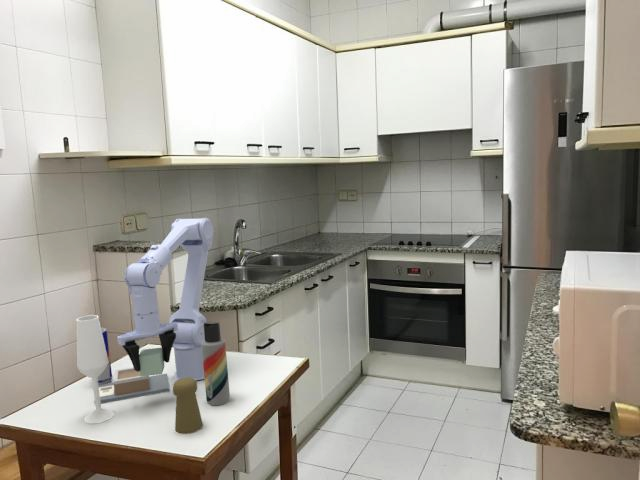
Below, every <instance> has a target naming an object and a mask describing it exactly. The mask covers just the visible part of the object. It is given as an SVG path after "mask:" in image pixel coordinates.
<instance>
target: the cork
mask: <svg viewBox="0 0 640 480" xmlns="http://www.w3.org/2000/svg"><path fill="white" fill-rule="evenodd" d="M197 391H198V383H197V380H196V381H195V380H194V379H193V378H181V379H179V380H177V381H176V380H175V381H174V383H173V385H172V392H173V394H174V396H175V397H176V399H175V400H176V401H175V418H174V419H175V422H174V423H175V424H174V431H175V433H178V434H182V435H188V434H193V433H196V432H198V431H199V430H201V429H202V428H203V426H204V423H203V419H202V415H201V411H200V407H199V402H198V399H197V395H196V393H197Z"/></svg>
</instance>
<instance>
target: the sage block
mask: <svg viewBox="0 0 640 480" xmlns="http://www.w3.org/2000/svg"><path fill="white" fill-rule="evenodd" d="M139 361H140V376H155V375H161V374H164V369H165V361H164V357H163V347H155V348H154V347H153V348H145V349H141V350H140V351H139Z"/></svg>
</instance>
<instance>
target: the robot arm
mask: <svg viewBox="0 0 640 480" xmlns="http://www.w3.org/2000/svg"><path fill="white" fill-rule="evenodd" d="M214 230H215V229H214V227H213V224H212V221H211V220H210V219H209V218H208V217H202V218H181V217H180V218H179V217H178V218H177V219H175V220H174V222H172V223H171V230H170V232H169V233H168V235H167V236H166V237H165V239H163V241H162V242H161V244H152V245H151V246H150V247H149V250H148V251H147V252H146V253H145V254H144V255H142V257H141V258H140V259H139V260H138V261H137V262H133V263H130V264H129V266H127V268H126V269H125V272H124V277H123V280H124V283H125V285H126V286H127V287H128V293H129V295H131V300H132V308H133V318H134V328H135V329H134V330H132V331H129V332H126V333H124V334H121V335H118V336H117V338H116V339H117V344H118V345H119V346H122V348H123V349H124V351H125V352H126V354H127V355H128V357H129V359H130V361H131V363H132V367H134V370H136V371H137V372H138V371H140V361H139V354H140V345H138V344H137V342H136V341H138V342H139V341H141V340H144V339H149V338H152V337H157V336H158V337H159V342H160V348H162V347H163V357H164V363H170V358H171V353H172V349H173V351H174V363H175V370H176V371H175V372H174V377H175V381H177V380H179V379H181V378H193V379H194V380H195V381H196V382H197V381H200V380H201V381H202V380H204V369H203V358H202V347H201V343H202V341H204V340H205V337H204V323H205V322H208V321H207V318H206V317H205V316H204V315H203V314H202V313H201V312H200V305H201V300H202V299H201V298H202V292H203V287H204V286H203V285H204V279H205V274H206V267H207V262H208V254H209V251H210V250H211V249H212V245H213V237H214ZM179 247H181V249H182V250H183V251H186V252H187V254H188V255H187V256H188V257H187V261H186V262H187V263H186V269H185V275H184V280H183V286H182V293H181V297H180V303H179V304H180V305H179V309H177V310H176V311H175V312H174V313H172V314H171V315H170V318H169V321H168V322H166V323H161V322H160V321H161V320H160V313H159V311H160V310H159V304H158V303H159V302H158V293H157V285H159V283H160V281H161V275H162V274H163V270H164V269H165V268H166V267H167V266H168V265H169V264H170V262H171V261H172V258H173V255H172V254H173V253H174V252H175V251H176V250H177V249H178V248H179Z"/></svg>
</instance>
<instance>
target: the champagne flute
mask: <svg viewBox="0 0 640 480" xmlns="http://www.w3.org/2000/svg"><path fill="white" fill-rule="evenodd" d="M75 323H76V362H77V363H76V364H77V365H76V366H77V369H78V371H79V372H80V373H81V374H83V375H84V376H86V377H87V378H90V379H91V380H92V381H91V383H92V389H93V397H94V401H95V402H94V405H95V406H94V407H95V410H93V411H92V412H91V413H89V414H88V415H86V416H85V418H84V420H83V421H84V423H87V424H98V423H103V422H106V421H108V420H110V419H112V418H114V416H115V412H114V411H113V410H110V409H106V408H102V403H101V402H100V394H99V386H98V378H97V377H98V376H100V375H101V373H102V372H103V371H104V370H105V369H106V367H107V365H108V357H107V352H106V348H105V343H104V339H103V334H102V330H101V328H102V326H101V323H100V319H99V315H98V314H96V315H95V314H89V315H84V316H83V315H82V316H80V317H78V318H76V319H75Z"/></svg>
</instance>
